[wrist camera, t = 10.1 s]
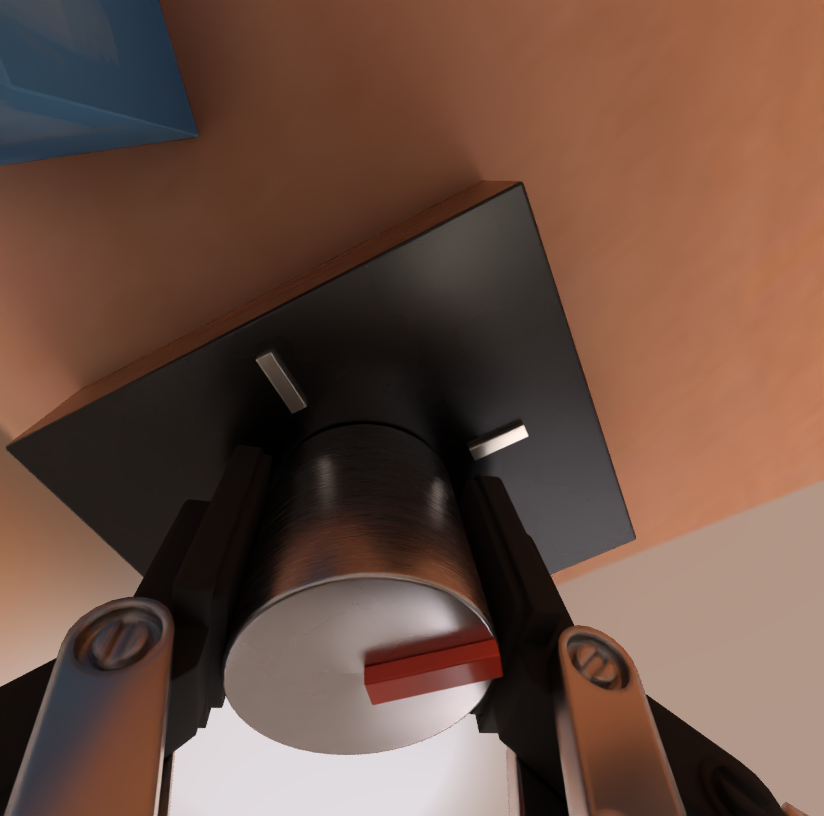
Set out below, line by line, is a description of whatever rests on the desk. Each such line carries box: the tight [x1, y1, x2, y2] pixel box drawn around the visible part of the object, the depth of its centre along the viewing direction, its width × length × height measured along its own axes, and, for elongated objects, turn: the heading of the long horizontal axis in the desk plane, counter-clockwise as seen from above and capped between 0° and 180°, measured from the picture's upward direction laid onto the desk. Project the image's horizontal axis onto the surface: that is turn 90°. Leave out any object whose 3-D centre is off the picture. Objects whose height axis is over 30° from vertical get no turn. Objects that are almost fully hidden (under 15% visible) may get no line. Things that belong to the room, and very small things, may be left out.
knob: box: [221, 424, 503, 755], centre depth 9 cm, size 4×4×5 cm
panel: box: [5, 181, 636, 577], centre depth 13 cm, size 10×12×3 cm
